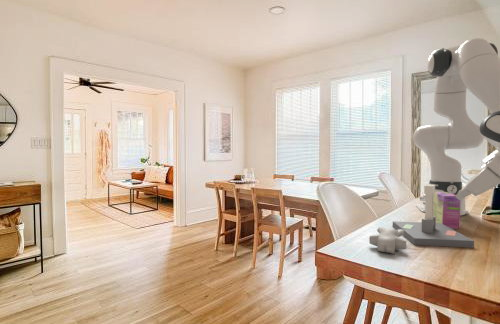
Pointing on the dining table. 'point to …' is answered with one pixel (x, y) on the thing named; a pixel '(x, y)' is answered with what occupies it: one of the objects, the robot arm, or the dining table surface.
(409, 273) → the dining table surface
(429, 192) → the breaker lever
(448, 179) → the robot arm
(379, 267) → the dining table surface
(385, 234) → the bunny figurine
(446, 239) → the breaker panel
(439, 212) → the box
